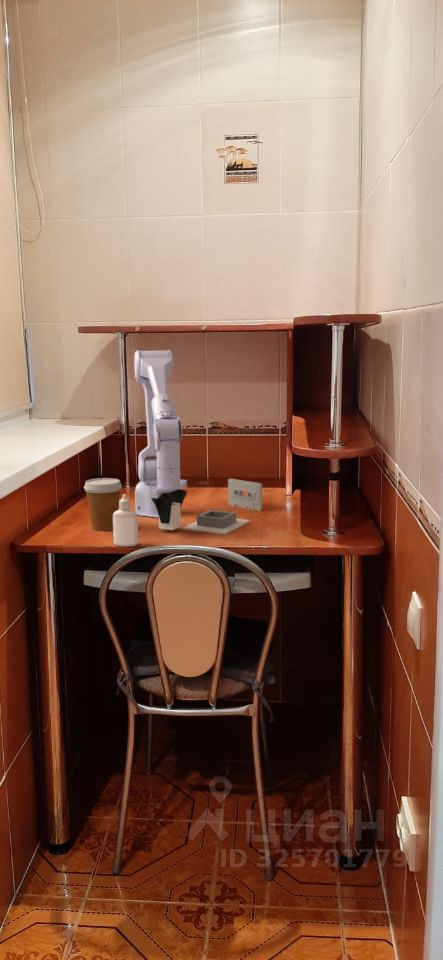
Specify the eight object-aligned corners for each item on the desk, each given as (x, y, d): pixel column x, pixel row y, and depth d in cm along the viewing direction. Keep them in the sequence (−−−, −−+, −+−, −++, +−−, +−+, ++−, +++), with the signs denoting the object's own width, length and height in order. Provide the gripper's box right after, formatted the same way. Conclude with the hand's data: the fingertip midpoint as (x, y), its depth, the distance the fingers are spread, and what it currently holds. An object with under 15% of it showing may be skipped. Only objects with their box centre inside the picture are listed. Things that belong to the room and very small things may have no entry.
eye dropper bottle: (127, 548, 177) (125, 497, 175) (111, 544, 181) (109, 494, 179) (141, 544, 181) (139, 494, 178) (124, 540, 184) (123, 491, 182)
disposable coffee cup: (106, 534, 190) (104, 486, 188) (77, 529, 195) (75, 482, 193) (131, 525, 198) (129, 480, 196) (102, 521, 203) (101, 476, 201)
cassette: (263, 510, 214) (263, 483, 212) (259, 511, 212) (259, 484, 211) (231, 504, 222) (231, 478, 220) (226, 505, 220) (226, 479, 219)
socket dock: (182, 529, 194) (182, 517, 194) (208, 517, 207) (208, 506, 206) (225, 534, 189) (225, 522, 188) (249, 521, 201) (249, 510, 201)
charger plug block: (158, 528, 192) (158, 500, 190) (167, 524, 195) (166, 497, 194) (172, 530, 190) (172, 502, 188) (180, 526, 193) (180, 499, 192)
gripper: (167, 473, 181) (168, 529, 184) (196, 463, 194) (197, 516, 197) (141, 471, 185) (143, 526, 187) (172, 461, 197) (173, 513, 200)
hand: (169, 521), depth 192 cm, fingers closed on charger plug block, 4 cm apart
